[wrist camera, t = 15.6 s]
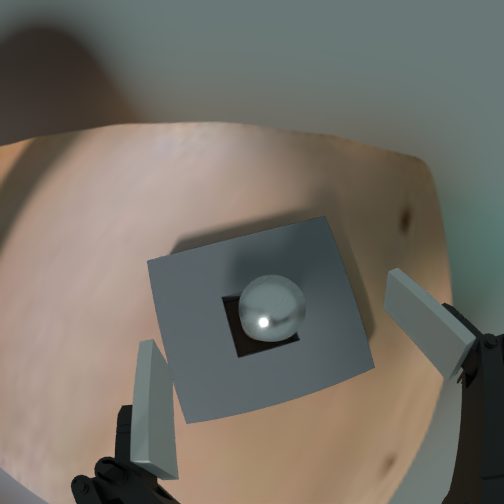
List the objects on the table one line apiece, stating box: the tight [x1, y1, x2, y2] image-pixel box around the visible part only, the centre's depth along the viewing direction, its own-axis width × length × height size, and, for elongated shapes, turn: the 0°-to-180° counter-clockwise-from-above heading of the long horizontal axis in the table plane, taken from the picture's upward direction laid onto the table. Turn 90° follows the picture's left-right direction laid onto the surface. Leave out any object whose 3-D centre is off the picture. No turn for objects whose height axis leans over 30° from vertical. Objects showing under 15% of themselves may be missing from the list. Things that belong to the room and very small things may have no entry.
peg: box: [239, 275, 306, 342], centre depth 18 cm, size 3×3×12 cm
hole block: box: [147, 216, 375, 424], centre depth 22 cm, size 16×14×4 cm
